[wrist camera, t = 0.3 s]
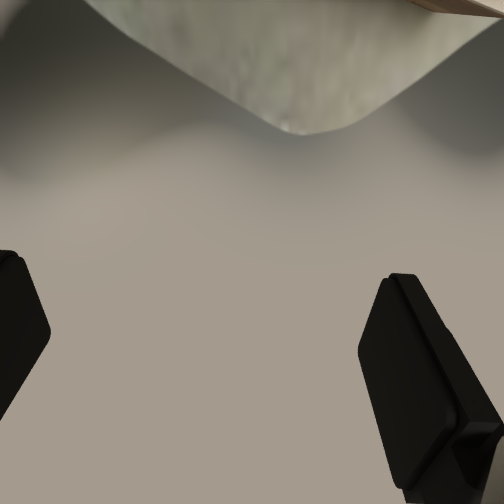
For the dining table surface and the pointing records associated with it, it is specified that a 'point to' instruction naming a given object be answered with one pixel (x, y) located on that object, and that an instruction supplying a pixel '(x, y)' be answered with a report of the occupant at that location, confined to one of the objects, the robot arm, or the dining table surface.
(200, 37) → the dining table surface
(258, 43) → the dining table surface
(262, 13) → the dining table surface
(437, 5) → the box with rectangular opening
